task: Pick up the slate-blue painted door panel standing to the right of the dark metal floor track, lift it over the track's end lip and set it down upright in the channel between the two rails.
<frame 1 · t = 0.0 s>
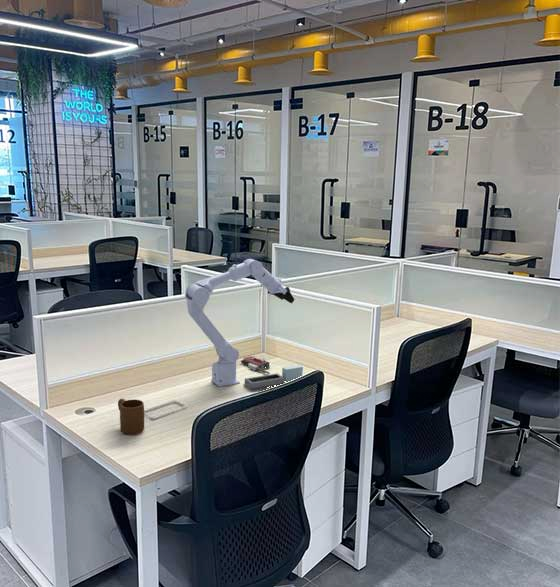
hand: (288, 299, 236), 32 cm above the table, tool tilted 50°, fingers open, 7 cm apart
grey rectangular frame: (164, 412, 199), on the table
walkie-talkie: (259, 369, 247), on the table
door panel: (292, 380, 232), on the table
mug: (129, 429, 183), on the table
track sill: (264, 385, 226), on the table
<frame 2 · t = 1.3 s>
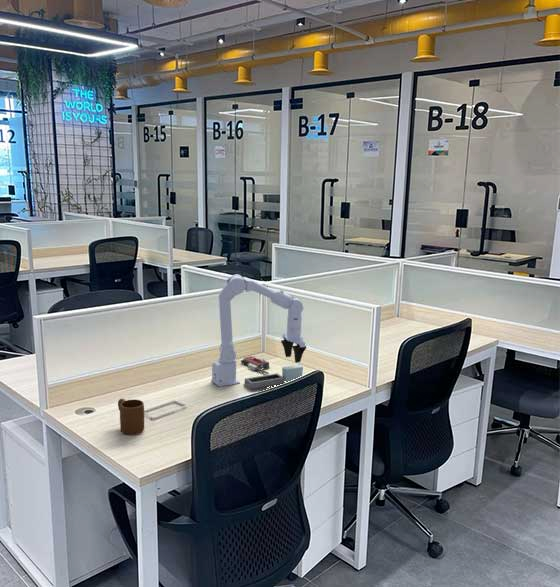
hand: (292, 359, 230), 9 cm above the table, tool pointing down, fingers open, 7 cm apart
nothing on the table moved.
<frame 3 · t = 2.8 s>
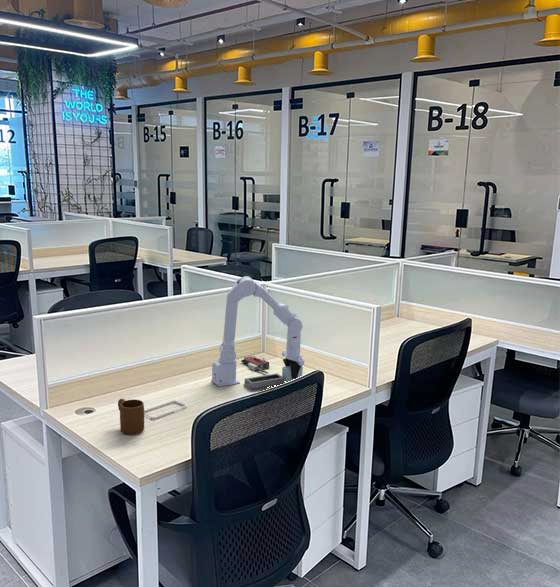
hand: (292, 376, 232), 2 cm above the table, tool pointing down, fingers closed on door panel, 3 cm apart
door panel: (292, 380, 232), on the table, touching gripper
everything else where it was.
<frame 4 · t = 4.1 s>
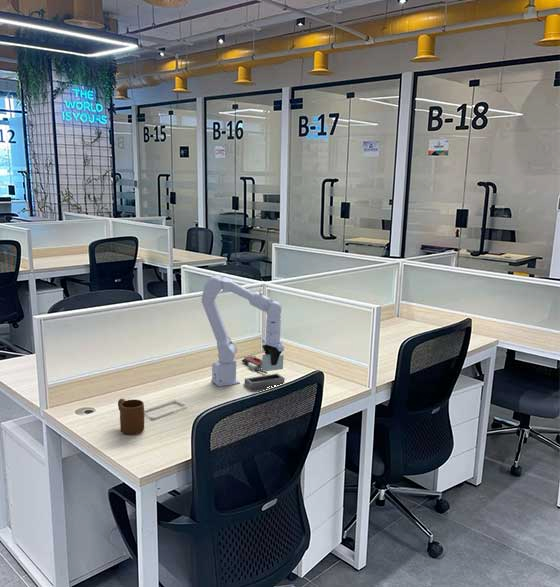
hand: (271, 363, 226), 9 cm above the table, tool pointing down, fingers closed on door panel, 3 cm apart
door panel: (272, 369, 226), point 6 cm above the table, touching gripper
everything else where it was.
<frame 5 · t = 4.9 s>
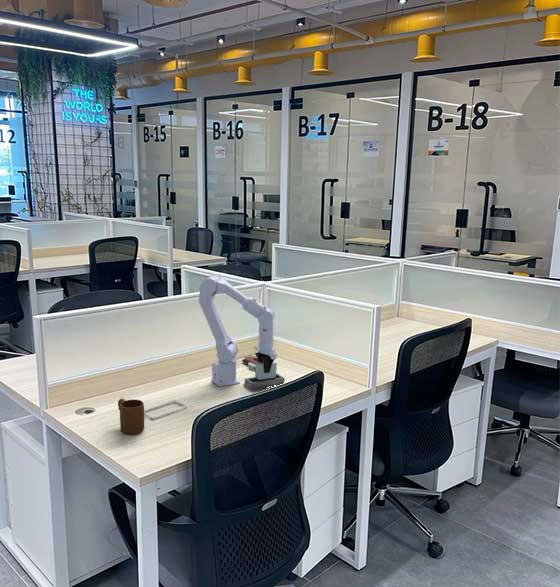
hand: (265, 371, 225), 6 cm above the table, tool pointing down, fingers closed on door panel, 3 cm apart
door panel: (265, 377, 225), point 3 cm above the table, touching gripper
everything else where it was.
when the fingers open (4 cm above the table, at t = 5.6 s): door panel stays where it is, resting on track sill.
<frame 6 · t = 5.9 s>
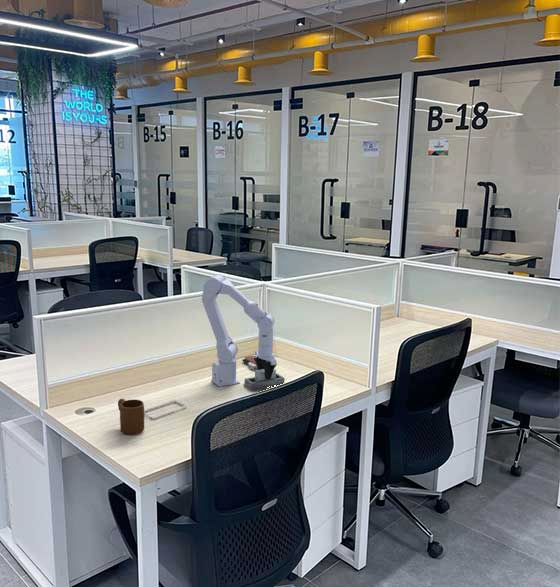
hand: (264, 376, 225), 4 cm above the table, tool pointing down, fingers open, 5 cm apart
door panel: (265, 384, 226), resting on track sill
everything else where it was.
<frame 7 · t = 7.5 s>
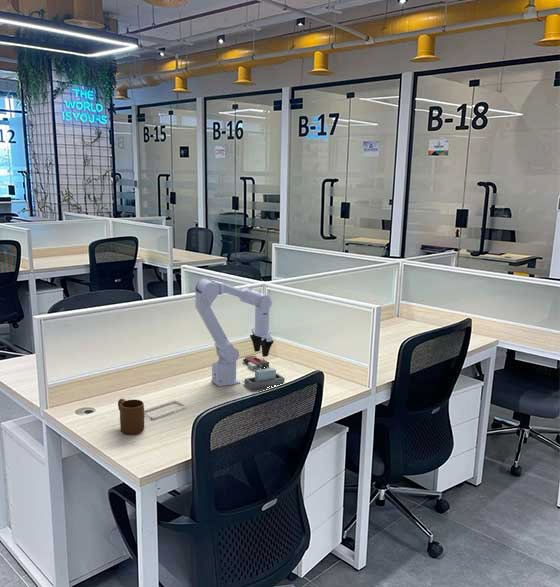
hand: (261, 353, 234), 10 cm above the table, tool pointing down, fingers open, 7 cm apart
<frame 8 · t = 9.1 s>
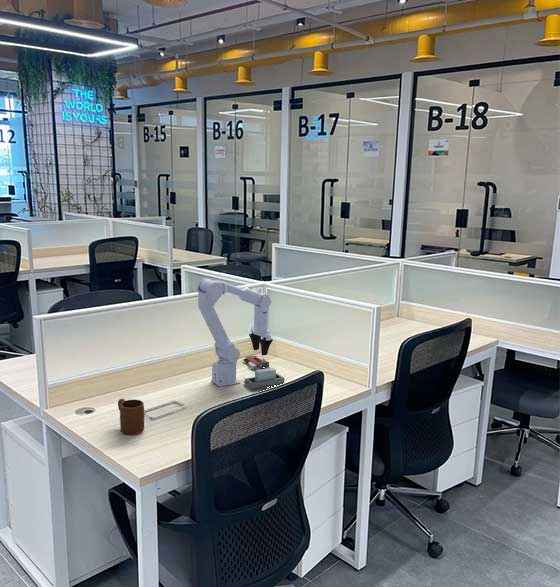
hand: (260, 352, 236), 10 cm above the table, tool pointing down, fingers open, 7 cm apart
at the end: door panel 0.3 cm off-centre on the track sill, point 0.5 cm above the track sill's base; door panel tilted 0°; the gripper is holding nothing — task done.
